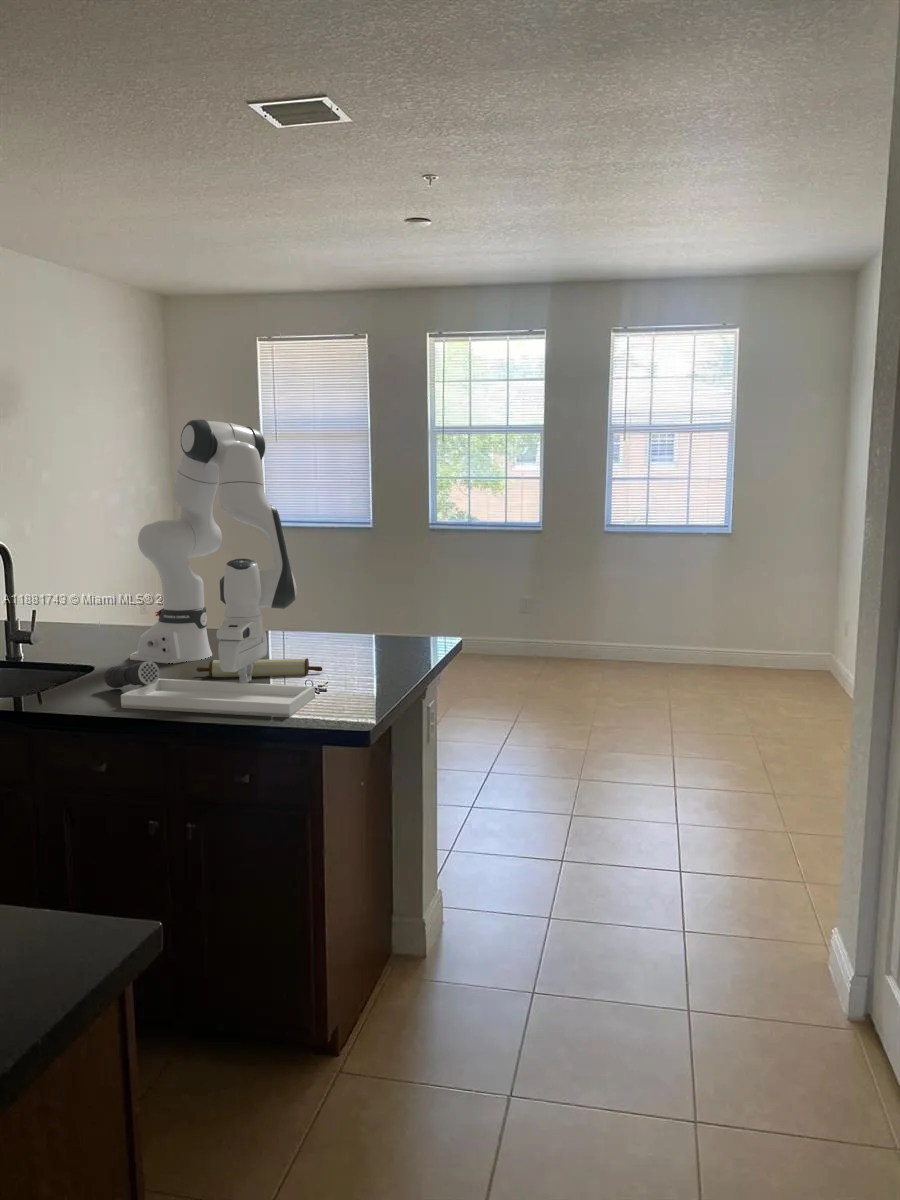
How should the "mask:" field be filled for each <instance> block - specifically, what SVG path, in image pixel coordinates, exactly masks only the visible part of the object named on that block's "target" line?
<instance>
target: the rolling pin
mask: <svg viewBox="0 0 900 1200" xmlns="http://www.w3.org/2000/svg"><path fill="white" fill-rule="evenodd" d="M195 670H196V672H198V673H204V672H208V677H209V678H211V679H212V678H240V677H239V675H238V672H237V671H236V672H223V671H222V670H221V668H220V665H219V659H210V661H209V665H208V667H205V666H204V667H203V666H198V667H197V668H196V669H195ZM310 671H315V672H323V667H322V666H320V665H319V666H314V665H313V666H310V663H309V658H287V659H286V658H285V659H284V658H283V659H281V658H279V659H273V658H271V659H259V660H257V661H255V662H253V670H252V674H251V678H252V677H256V678H259V677H288V676H290V677H291V676H307V675H309V672H310Z"/></svg>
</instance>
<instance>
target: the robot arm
mask: <svg viewBox="0 0 900 1200" xmlns="http://www.w3.org/2000/svg"><path fill="white" fill-rule="evenodd" d="M180 434H181V435H180V447H181V450H182V452H183V453H182V455H181V458H180V461H179V464H178V468H177V471H176V475H175V479H174V481H173V482H174V483H173V487H172V490H171V497H172V499H173V501H174V503H175V504H176V505H177V507H179V508H180V516H179V518H178V519H167V520H165V519H163V520H158V521H154V522H150V523H148V524H145V525H144V526H143V527H142V528H141V529H140V531H139V533H138V538H137V543H138V545H137V546H138V549H139V550H140V552H141V554H142V555H143V556H144V557H145V558H147V559H148V561H150V562H151V563H152V564H153V565H154V567H155V569H156V570H157V573H158V575H159V578H160V582H161V588H162V591H161V592H162V598H163V599H162V600H163V601H162V602H163V608H161V609H160V610H158V611H155V612H154V613H155V615H154V616H155V617H158V621H157V622H156V623H155V624H153V625H152V626H150V628H149V629H147V630H146V631H145V632H143V633H142V634H141V635H140V637H139V638H138V643H137V644H138V645H137V651H135V652H132V653H131V654H129V660H130V661H141V662H147V661H151V662H154V663H159V664H160V663H161V664H168V663H170V665H171V663H173V664H177V663H187V662H194V661H196V662H197V661H202V660H206V659H208V657H209V658H211V657H212V656H213V652H212V650H211V646H210V643H209V638H208V631H207V626H208V625H207V624H208V618H207V615H208V614H207V607H206V606H205V585H204V580H203V578H202V577H201V575H199V574H197V573H195V572H194V571H193V570H192V567H191V566H190V561H189V559H192V558H201V557H206V556H208V555H210V554H214V553H216V552H217V551H218V550H219V549H220V547H221V545H222V541H223V533H222V531H221V528H220V526H219V525H218V524H217V522H216V521H215V519H214V513H213V512H214V511H213V508H214V501H215V499H216V498H215V497H216V493H217V489H218V492H219V493H218V494H219V500H220V502H219V503H220V505H221V508H222V510H223V511H224V512H225V514H227V515H228V516H229V517H230V518H232V519H233V520H235V521H238V522H240V523H242V524H245V525H248V526H251V527H253V528H256V529H258V530H260V531H261V532H263V533H264V534H265V535H266V536H267V538H268V542H269V547H270V550H271V557H272V561H273V567H272V568H270V569H259V565H258V562H257V561H255V560H253V559H249V558H236V559H231V560H229V561H227V562H226V564H225V569H224V575H223V576H222V577H221V578H220V579H219V591H220V592H219V593H220V595H219V596H220V601H221V602H222V603H223V604H224V605H225V609H224V621H222V624H221V626H219V628H218V629H217V630H216V635H215V636H216V639H217V640H219V641H218V649H217V652H218V653H217V654H218V660H219V665H220V668H221V670H222V671H223V672H236V671H237V672H238V675H239V677H238V678H239V683H249V682H251V681H252V677H251V674H252V670H253V662H255V661H257V660H262V659H263V658H265V657H266V656H267V654H268V641H267V633H266V630H265V629H264V627H263V611H262V609H264V608H265V609H266V608H271V609H281V610H282V609H283V610H284V609H287V608H288V607H289V606H290V605H291V604H293V603H294V602H295V601H296V597H297V589H298V586H297V583H296V582H297V581H296V579H295V576H294V574H293V571H292V569H291V564H290V558H289V557H290V556H289V553H288V548H287V543H286V539H285V538H286V537H285V534H284V529H283V525H282V522H281V518H280V514H279V511H278V510H277V508H276V506H274V505H272V504H271V503H270V502H269V501H268V499H267V496H266V493H265V481H264V472H263V465H262V459H263V458H264V455H265V453H266V441H265V438H264V436H263V434H262V432H261V431H260V430H258V429H255V428H253V427H250V426H244V425H241V424H237V423H233V422H228V421H227V422H226V421H225V422H223V421H213V420H205V419H192V420H189V421H187V423H186V424H185V425H184V427H183V429H182V432H181V433H180ZM210 656H211V657H210ZM205 658H206V659H205ZM201 659H202V660H201ZM186 661H187V662H186Z"/></svg>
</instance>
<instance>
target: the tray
mask: <svg viewBox="0 0 900 1200" xmlns="http://www.w3.org/2000/svg"><path fill="white" fill-rule="evenodd" d="M315 698H316V686H313V685H312V686H310V685H294V684H293V685H292V684H272V683H255V682H254V683H252V682H250V683H249V682H247V683H240V682H236V681H235V682H231V681H217V680H216V681H213V680H198V679H197V680H194V679H193V680H192V679H178V678H177V679H175V678H174V679H172V678H171V679H170V678H158V680H157V681H156V682H155V683H154V684H150V685H139V686H138V687H136V688H135V687H134V688H133V689H130V690H129V691H126V692H125V693H122V694H120V705H121V707H120V708H121V709H135V710H152V711H169V712H186V713H187V712H188V713H190V712H191V713H200V714H201V713H203V714H221V715H222V714H223V715H240V716H241V715H242V716H256V717H260V716H261V717H275V718H276V717H278V718H291V717H292V716H294V715H295V714H297V712H299V711H300V710H301V709H302V708H304V707H305V706H306V705H308V704H309V703H310V702H311V701H313V700H314V699H315Z"/></svg>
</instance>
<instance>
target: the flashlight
mask: <svg viewBox="0 0 900 1200" xmlns="http://www.w3.org/2000/svg"><path fill="white" fill-rule="evenodd" d="M158 679H160V668H159V666H158V664H156V662H151V661H141V662H138V663H135V664H130V665H129V666H120V665H118V666H112V667H110V668H109V669H107V670H106V672H105V674H104V683H105V684H106V685H107V686H108V687H110V688H112V689H118V688H119V689H120V688H123V687H125V686H126V687H127V686H129V685H133V686H142V685H150V684H154V683H155V682H156V681H157V680H158Z"/></svg>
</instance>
